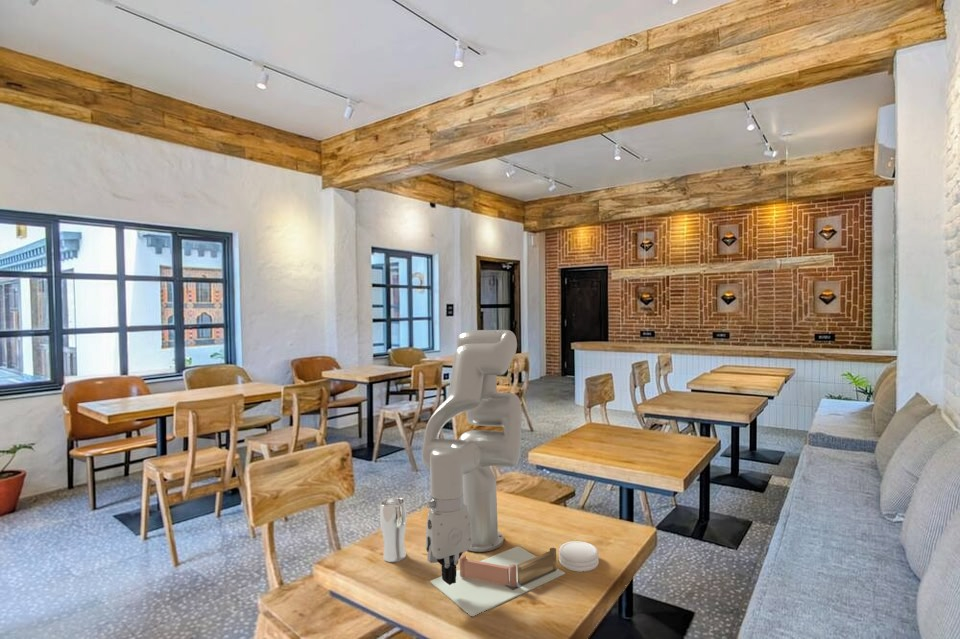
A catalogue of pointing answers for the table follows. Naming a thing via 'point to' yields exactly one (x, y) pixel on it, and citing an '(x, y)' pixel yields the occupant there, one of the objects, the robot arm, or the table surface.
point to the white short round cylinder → (578, 556)
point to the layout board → (491, 584)
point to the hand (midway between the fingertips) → (449, 581)
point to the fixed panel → (537, 566)
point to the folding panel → (488, 571)
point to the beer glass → (393, 528)
